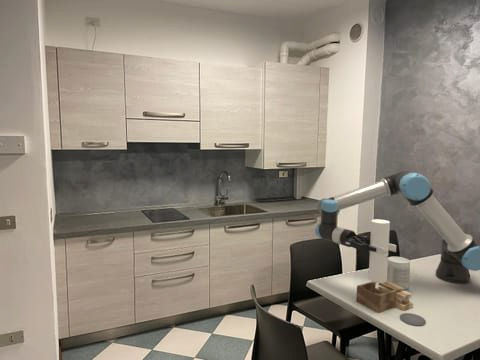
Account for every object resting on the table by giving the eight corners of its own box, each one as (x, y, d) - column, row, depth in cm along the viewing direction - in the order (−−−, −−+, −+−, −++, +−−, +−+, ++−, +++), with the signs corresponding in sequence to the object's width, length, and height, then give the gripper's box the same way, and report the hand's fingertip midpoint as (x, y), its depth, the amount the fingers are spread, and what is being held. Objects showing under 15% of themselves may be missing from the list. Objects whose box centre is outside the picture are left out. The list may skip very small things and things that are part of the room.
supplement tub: (412, 291, 163) (414, 260, 161) (400, 296, 158) (402, 264, 156) (393, 284, 171) (395, 254, 169) (381, 288, 166) (383, 258, 164)
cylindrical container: (364, 277, 152) (367, 219, 149) (378, 275, 154) (381, 218, 151) (376, 283, 145) (379, 223, 142) (390, 281, 147) (393, 222, 144)
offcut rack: (382, 293, 161) (383, 278, 160) (413, 307, 148) (414, 291, 147) (356, 301, 153) (356, 285, 152) (386, 316, 139) (387, 299, 139)
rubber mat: (417, 314, 142) (417, 312, 142) (430, 325, 133) (430, 324, 133) (395, 314, 141) (395, 313, 141) (407, 326, 132) (407, 325, 132)
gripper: (358, 241, 168) (403, 254, 150) (329, 248, 157) (374, 263, 138) (358, 226, 168) (404, 237, 149) (329, 232, 156) (375, 245, 138)
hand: (389, 250), depth 144 cm, fingers closed on cylindrical container, 7 cm apart
